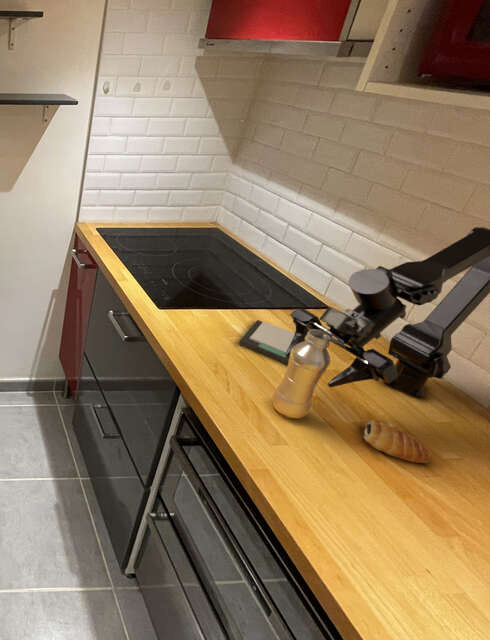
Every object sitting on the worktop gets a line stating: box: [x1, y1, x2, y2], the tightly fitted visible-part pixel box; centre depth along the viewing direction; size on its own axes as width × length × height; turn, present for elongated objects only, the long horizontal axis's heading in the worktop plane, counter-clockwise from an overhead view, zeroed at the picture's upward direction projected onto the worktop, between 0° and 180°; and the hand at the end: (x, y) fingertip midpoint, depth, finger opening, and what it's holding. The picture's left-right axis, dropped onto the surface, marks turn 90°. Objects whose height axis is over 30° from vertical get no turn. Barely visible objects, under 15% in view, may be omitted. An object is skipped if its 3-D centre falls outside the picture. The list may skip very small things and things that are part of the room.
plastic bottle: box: [271, 329, 331, 419], centre depth 91 cm, size 6×7×20 cm
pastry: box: [363, 419, 431, 464], centre depth 86 cm, size 9×7×4 cm
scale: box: [238, 319, 295, 366], centre depth 116 cm, size 14×14×2 cm
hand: (306, 370), depth 91 cm, fingers open, 9 cm apart
